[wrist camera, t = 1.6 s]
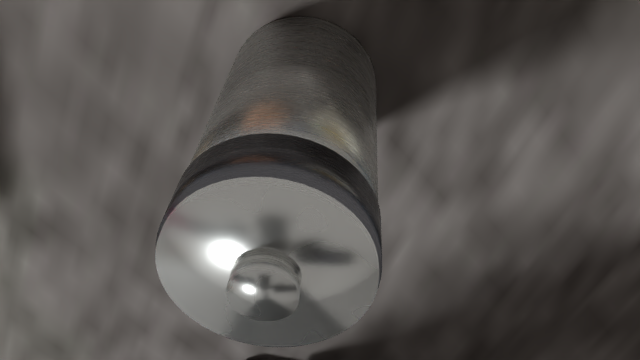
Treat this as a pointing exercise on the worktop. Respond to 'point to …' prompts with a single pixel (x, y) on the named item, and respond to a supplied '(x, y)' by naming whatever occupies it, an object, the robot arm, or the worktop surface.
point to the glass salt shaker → (281, 193)
